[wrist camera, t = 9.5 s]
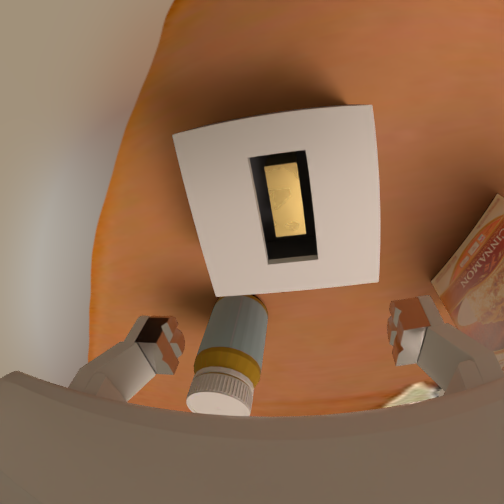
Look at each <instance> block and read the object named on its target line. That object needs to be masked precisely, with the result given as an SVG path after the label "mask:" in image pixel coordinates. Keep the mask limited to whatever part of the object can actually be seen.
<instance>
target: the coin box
mask: <svg viewBox="0 0 504 504" xmlns="http://www.w3.org/2000/svg"><path fill="white" fill-rule="evenodd" d="M172 137H173V141H174V145H175V150H176V154H177V158H178V162H179V166H180V170H181V174H182V178H183V182H184V186H185V190H186V193H187V197H188V201H189V205H190V208H191V212H192V216H193V220H194V223H195V227H196V230H197V234H198V238H199V241H200V245H201V248H202V252H203V255H204V258H205V262H206V265H207V269H208V272H209V275H210V279H211V282H212V285H213V289H214V292H215V295H216V297H222V296H237V295H251V294H264V293H276V292H288V291H299V290H309V289H319V288H329V287H339V286H348V285H357V284H365V283H374V282H379V265H380V188H379V169H378V155H377V143H376V133H375V123H374V115H373V107H372V105H334V106H323V107H312V108H303V109H295V110H287V111H280V112H273V113H266V114H260V115H254V116H248V117H243V118H238V119H232V120H227V121H222V122H218V123H213V124H209V125H204V126H201V127H197V128H194V129H190V130H187V131H183V132H180V133H177V134H173V135H172ZM292 151H296V158H297V165H298V171H299V178H300V185H301V193H302V200H303V208H304V217H305V227H306V234H301V235H292V236H283V237H276V233H275V226H274V221H273V215H272V209H271V203H270V197H269V191H268V186H267V180H266V174H265V169H264V166H265V164H266V161H267V159H268V156H269V155H270V154H277V153H284V152H292Z"/></svg>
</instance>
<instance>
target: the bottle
mask: <svg viewBox="0 0 504 504" xmlns="http://www.w3.org/2000/svg"><path fill="white" fill-rule="evenodd" d="M267 322H268V312H267V309H266V307H265V305H264V304H263V303H262V302H261V301H260V300H259V299H257V298H256V297H254V296H252V295H237V296H222V297H220V298H219V299H218V301H217V302H216V303H215V306H214V308H213V311H212V314H211V317H210V319H209V322H208V325H207V328H206V331H205V333H204V336H203V339H202V342H201V345H200V348H199V350H198V353H197V356H196V359H195V363H194V373H195V375H194V378H193V382H192V383H191V386H190V389H189V392H188V395H187V399H186V400H187V406H188V407H189V409H190V410H191V411H192V412H193V413H202V414H214V415H228V416H249V415H250V413H251V407H252V400H253V392H254V388H255V386H256V385H257V383H258V382H259V380H260V375H261V368H262V360H263V353H264V345H265V338H266V330H267Z"/></svg>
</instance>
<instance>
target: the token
mask: <svg viewBox="0 0 504 504" xmlns="http://www.w3.org/2000/svg"><path fill="white" fill-rule="evenodd" d="M264 169H265V174H266V180H267V186H268V191H269V197H270V203H271V209H272V215H273V221H274V226H275V233H276V237H283V236H292V235H301V234H306V227H305V217H304V208H303V200H302V193H301V185H300V178H299V171H298V165H297V158H296V151H292V152H284V153H277V154H270V155H269V156H268V159H267V161H266V164H265V166H264Z"/></svg>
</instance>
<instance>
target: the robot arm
mask: <svg viewBox="0 0 504 504" xmlns="http://www.w3.org/2000/svg"><path fill="white" fill-rule="evenodd" d="M389 310H390V313H391V316H390V317H389V318H388V324H387V334H388V339H389V343H390V344H391V345H392V346H393V350H392V354H393V358H394V362H395V366H401V365H408V364H414V363H417V365H418V366H419V367H421V368H422V369H423V370H424V371H425V372H426V373H427V374H428V375H429V376H430V377H431V378H432V379H433V380H434V381H435V382H436V383H437V384H438V385H439V386H440V387H441V388H442V389H443V390H444V391H445V393H444V395H443V396H441V397H437V398H433V399H428V400H424V401H419V402H414V403H409V404H404V405H399V406H393V407H387V408H381V409H374V410H367V411H359V412H350V413H340V414H329V415H315V416H292V417H252V416H228V415H214V414H202V413H192V412H183V411H175V410H168V409H161V408H154V407H148V406H142V405H137V404H132V403H127V401H128V400H129V399H131V398H132V397H133V396H134V395H135V394H136V393H137V392H138V391H139V390H140V389H141V388H142V387H143V386H144V385H146V384H147V383H148V382H149V381H150V380H151V379H152V378H153V377H154V376H155V375H156V374H169V375H174V374H175V371H176V369H177V366H178V364H179V361H178V359H177V358H178V357H179V356H181V355H182V354H183V351H184V347H185V340H184V336H183V333H182V332H181V331H180V330H179V329H178V328H177V325H178V322H177V320H176V318H175V317H173V316H140V317H139V318H138V319H137V321H136V322H135V324H134V326H133V327H132V329H131V330H130V332H129V334H128V335H127V337H126V339H125V340H124V342H119V343H118V344H116V345H115V346H113V347H112V348H110V349H109V350H107V351H106V352H104V353H103V354H101V355H100V356H98V357H97V358H95V359H94V360H92V361H91V362H89V363H88V364H86V365H84V366H83V367H82V368H80V369H79V371H78V373H77V374H76V376H75V377H74V379H73V381H72V382H71V384H70V386H69V387H68V388H66V387H63V386H60V385H56V384H53V383H50V382H47V381H44V380H41V379H38V378H36V377H33V376H30V375H28V374H25V373H23V372H20V371H14V372H12V373H9V374H7V375H6V376H4V377H2V378H0V504H504V373H503V371H502V369H501V366H500V364H499V362H498V360H497V358H496V356H495V354H494V352H493V351H491V350H490V349H488V348H486V347H485V346H483V345H482V344H480V343H479V342H477V341H476V340H474V339H472V338H471V337H469V336H468V335H466V334H465V333H463V332H461V331H460V330H458V329H457V328H455V327H453V326H452V325H450V324H449V323H446V324H445V323H444V321H443V319H442V317H441V315H440V314H439V312H438V310H437V308H436V306H435V304H434V302H433V300H432V298H431V296H429V295H425V296H419V297H415V298H408V299H401V300H394V301H391V303H390V308H389Z"/></svg>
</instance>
